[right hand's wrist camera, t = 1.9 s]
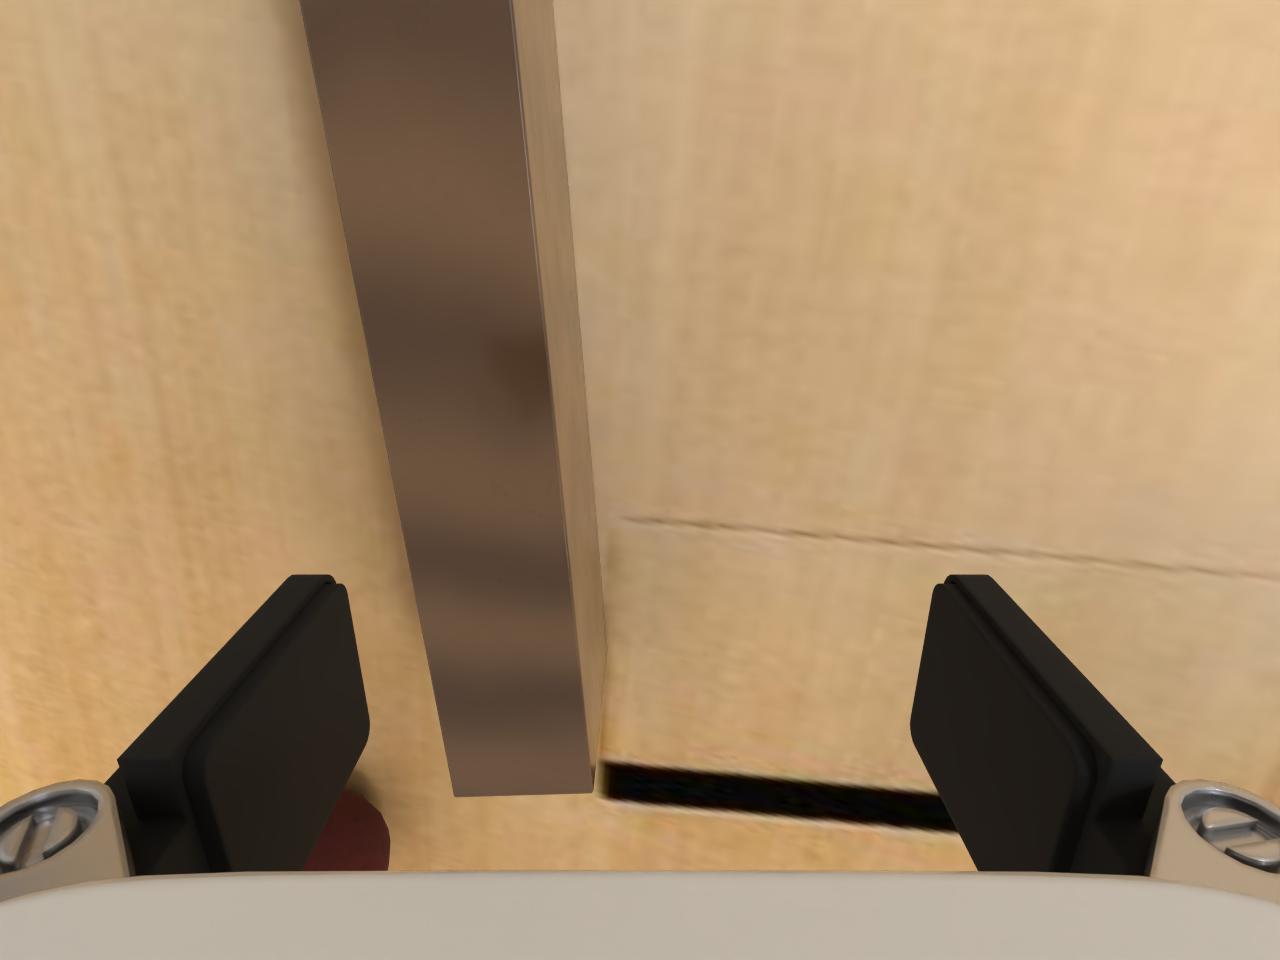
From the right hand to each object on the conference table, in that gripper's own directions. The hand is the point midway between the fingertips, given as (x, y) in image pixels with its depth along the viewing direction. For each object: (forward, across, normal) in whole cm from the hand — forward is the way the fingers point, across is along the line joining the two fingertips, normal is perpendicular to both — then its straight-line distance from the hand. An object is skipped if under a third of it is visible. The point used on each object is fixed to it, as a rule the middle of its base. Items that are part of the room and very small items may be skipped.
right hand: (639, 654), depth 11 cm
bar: (+17, +5, -14) cm, 23 cm away
